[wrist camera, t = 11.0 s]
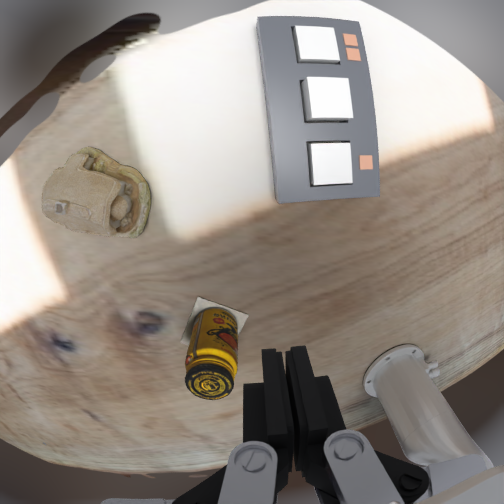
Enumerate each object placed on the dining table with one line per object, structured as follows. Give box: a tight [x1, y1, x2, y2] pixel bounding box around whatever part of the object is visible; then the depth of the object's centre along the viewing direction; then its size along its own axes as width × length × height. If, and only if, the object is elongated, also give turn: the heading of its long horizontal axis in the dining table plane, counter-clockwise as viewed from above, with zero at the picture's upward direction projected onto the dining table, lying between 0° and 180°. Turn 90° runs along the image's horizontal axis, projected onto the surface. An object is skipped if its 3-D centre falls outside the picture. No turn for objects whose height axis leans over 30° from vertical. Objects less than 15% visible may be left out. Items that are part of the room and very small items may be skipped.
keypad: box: [257, 16, 380, 204], centre depth 27 cm, size 12×22×3 cm, turn 6°
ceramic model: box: [42, 147, 151, 238], centre depth 27 cm, size 14×11×10 cm
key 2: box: [300, 77, 353, 122], centre depth 26 cm, size 4×4×4 cm
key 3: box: [307, 143, 353, 185], centre depth 29 cm, size 4×4×4 cm
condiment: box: [180, 297, 249, 400], centre depth 33 cm, size 7×8×12 cm
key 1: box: [292, 26, 340, 64], centre depth 25 cm, size 4×4×4 cm
